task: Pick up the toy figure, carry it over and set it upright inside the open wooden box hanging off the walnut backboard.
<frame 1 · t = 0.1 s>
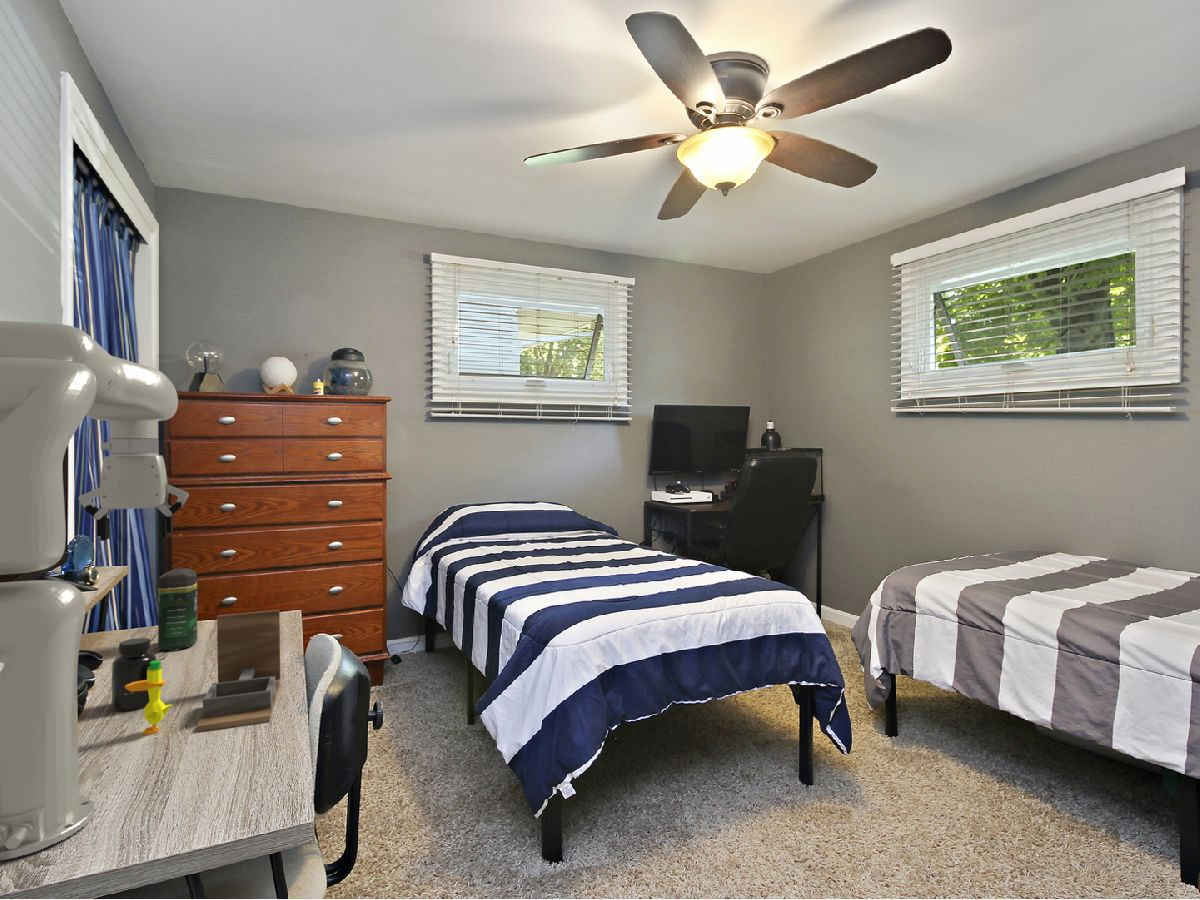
hand: (135, 538, 123), 31 cm above the table, tool pointing down, fingers open, 9 cm apart
coffee jar: (178, 646, 157), on the table
toy figure: (150, 733, 110), on the table
supplement bottle: (134, 705, 122), on the table
open wooden box: (242, 704, 121), on the table
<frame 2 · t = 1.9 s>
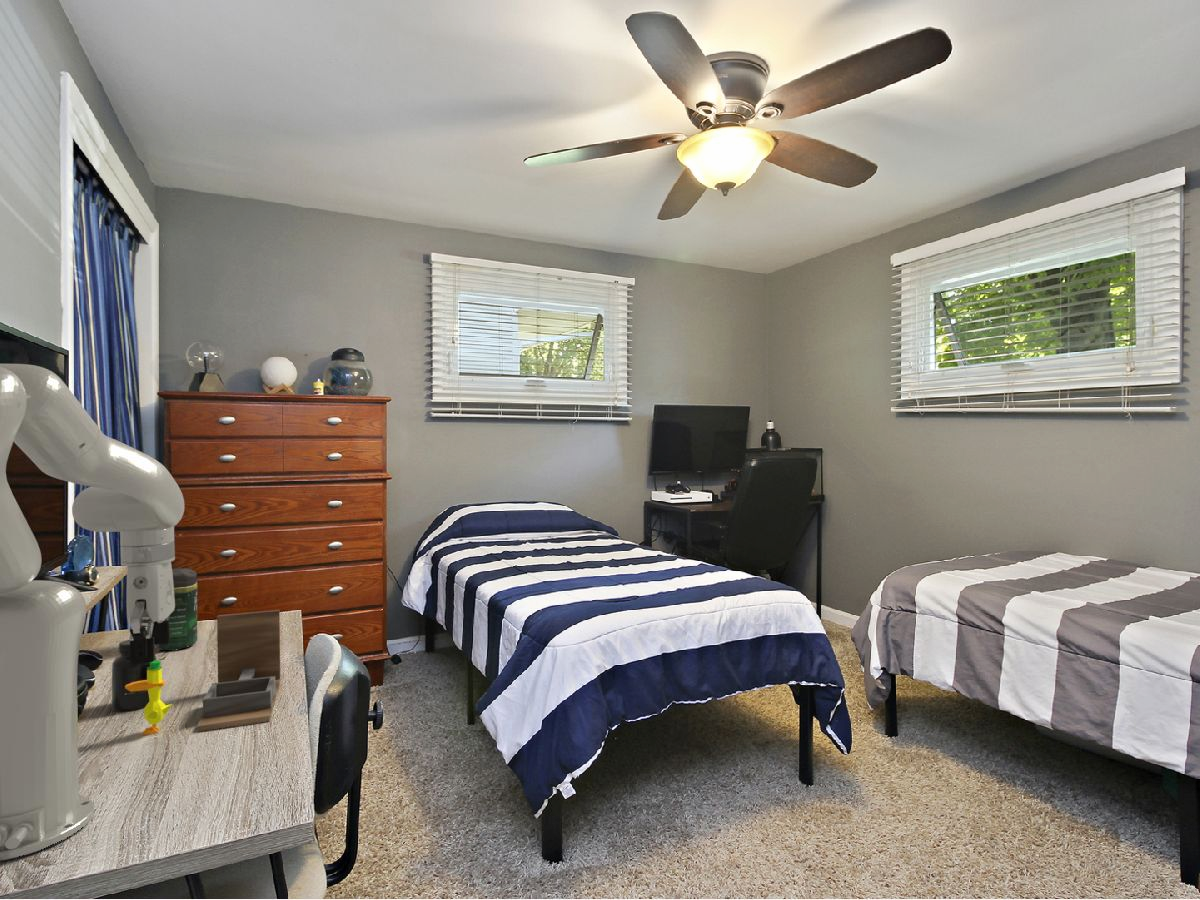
hand: (151, 652, 110), 13 cm above the table, tool pointing down, fingers open, 9 cm apart
nothing on the table moved.
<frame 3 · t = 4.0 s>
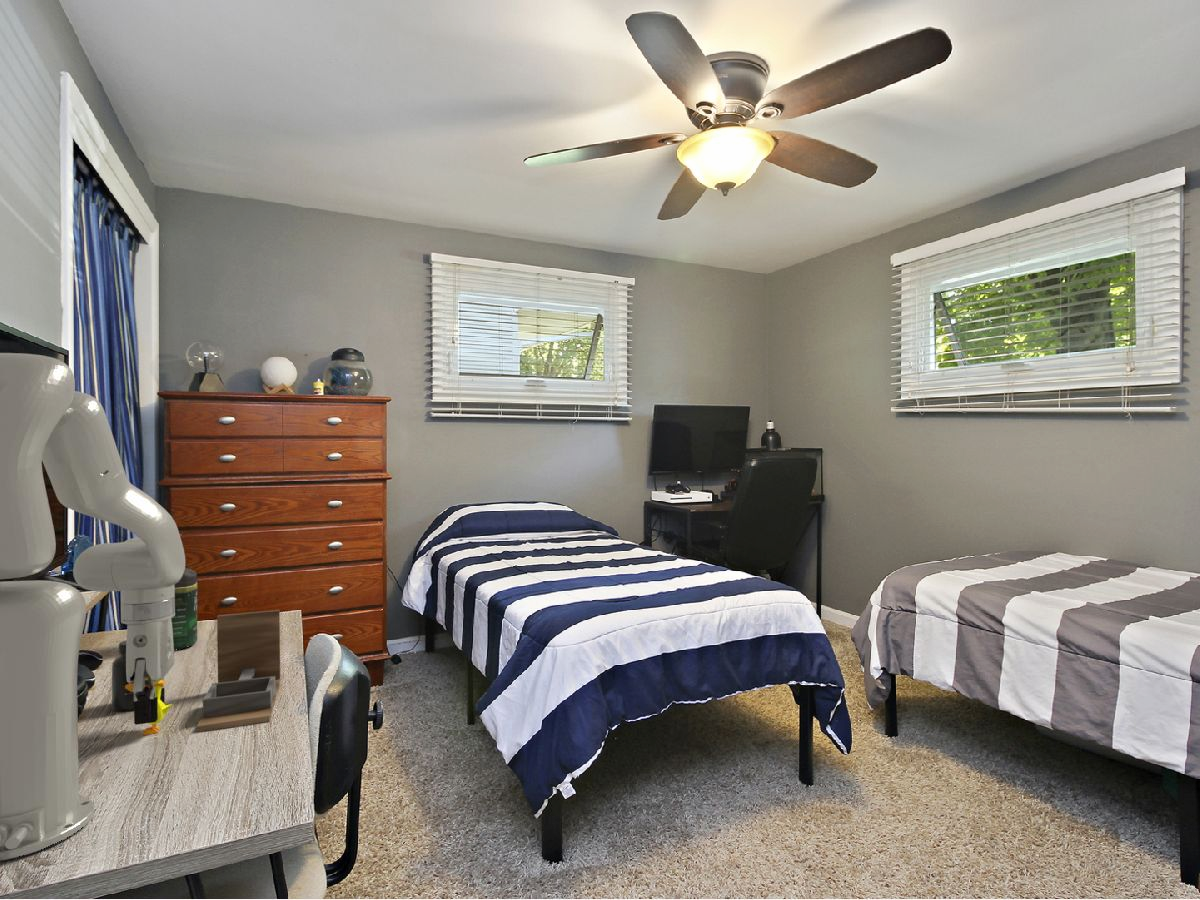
hand: (149, 716, 110), 3 cm above the table, tool pointing down, fingers closed on toy figure, 3 cm apart
toy figure: (150, 733, 110), on the table, touching gripper
everything else where it was.
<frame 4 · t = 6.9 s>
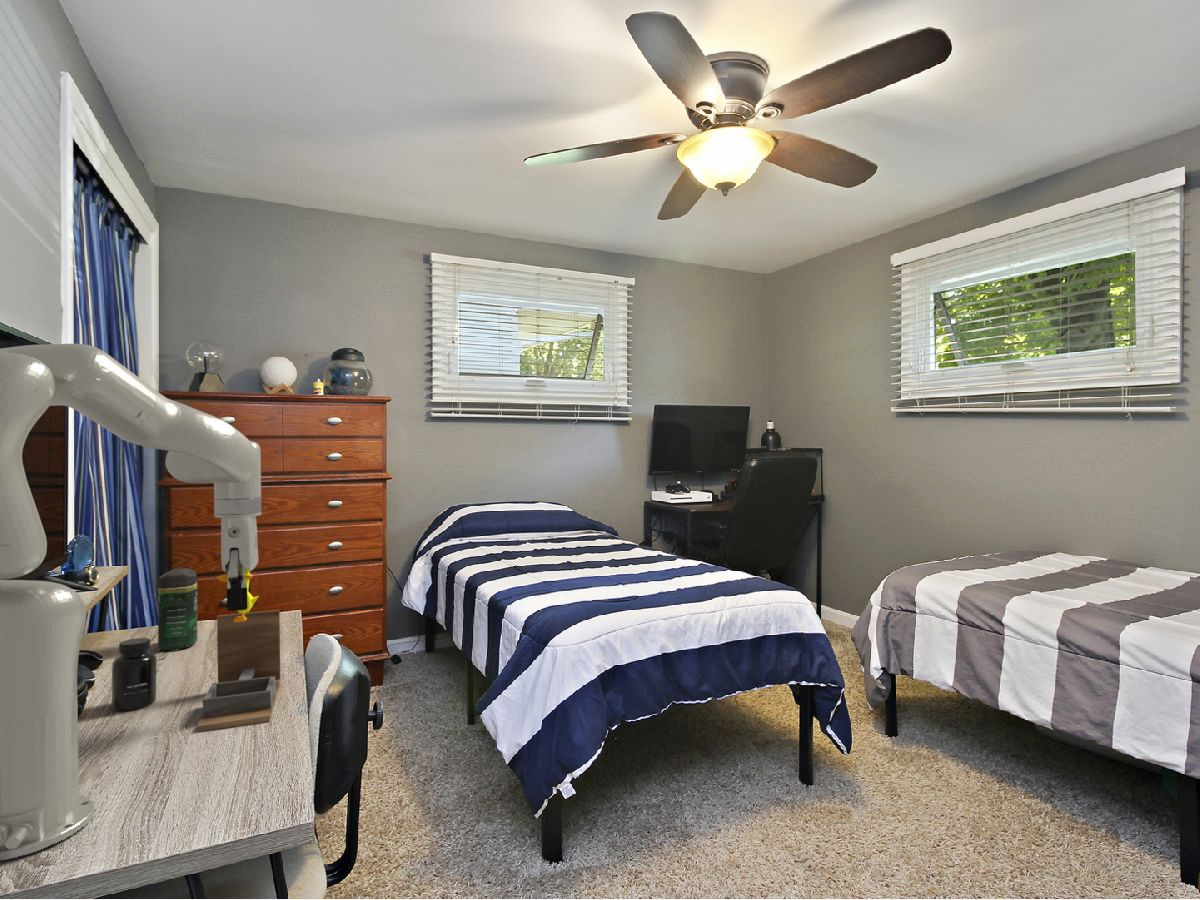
hand: (239, 606, 119), 19 cm above the table, tool pointing down, fingers closed on toy figure, 3 cm apart
toy figure: (239, 621, 119), point 16 cm above the table, touching gripper
everything else where it was.
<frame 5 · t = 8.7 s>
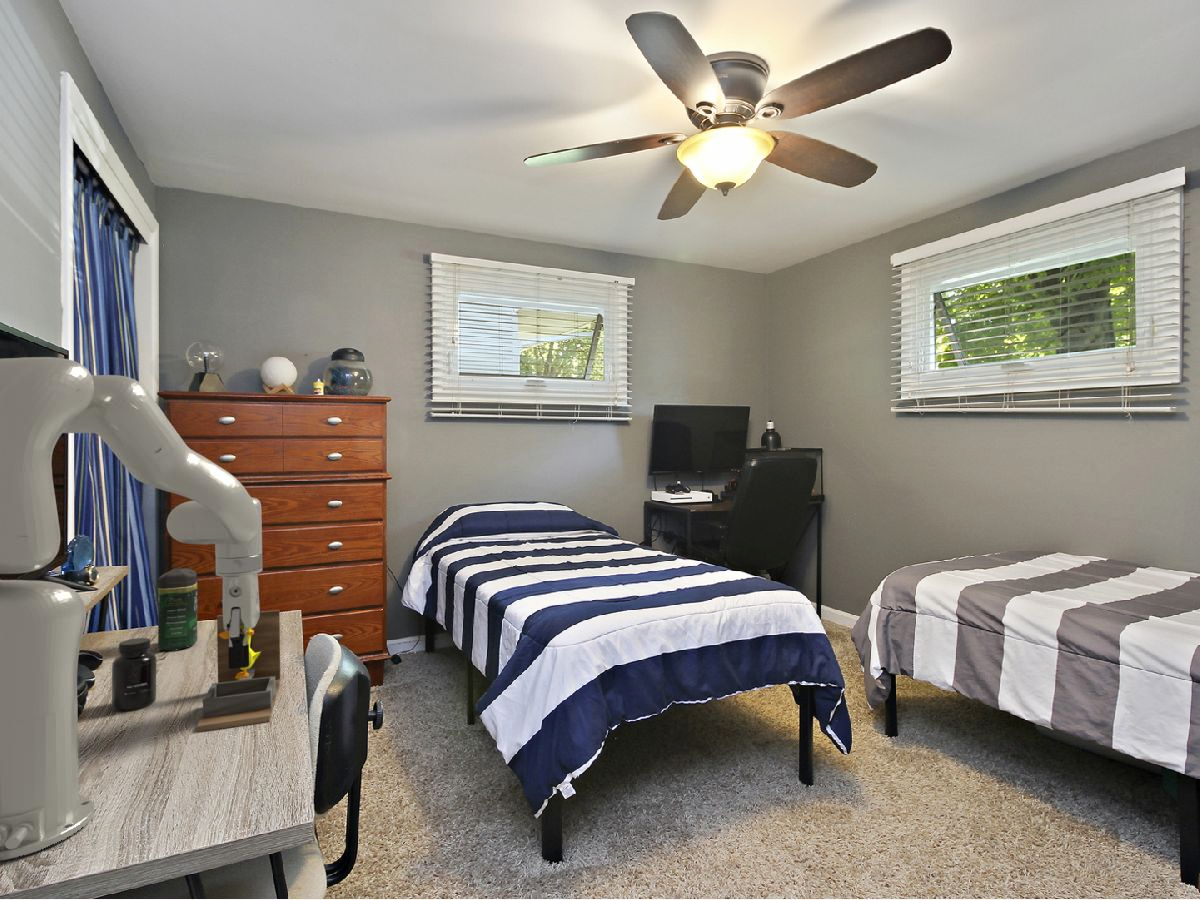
hand: (241, 662, 119), 9 cm above the table, tool pointing down, fingers closed on toy figure, 3 cm apart
toy figure: (241, 678, 119), point 6 cm above the table, touching gripper
everything else where it was.
when the fingers open (5 cm above the table, at t = 10.1 s): toy figure drops 1 cm, resting on open wooden box.
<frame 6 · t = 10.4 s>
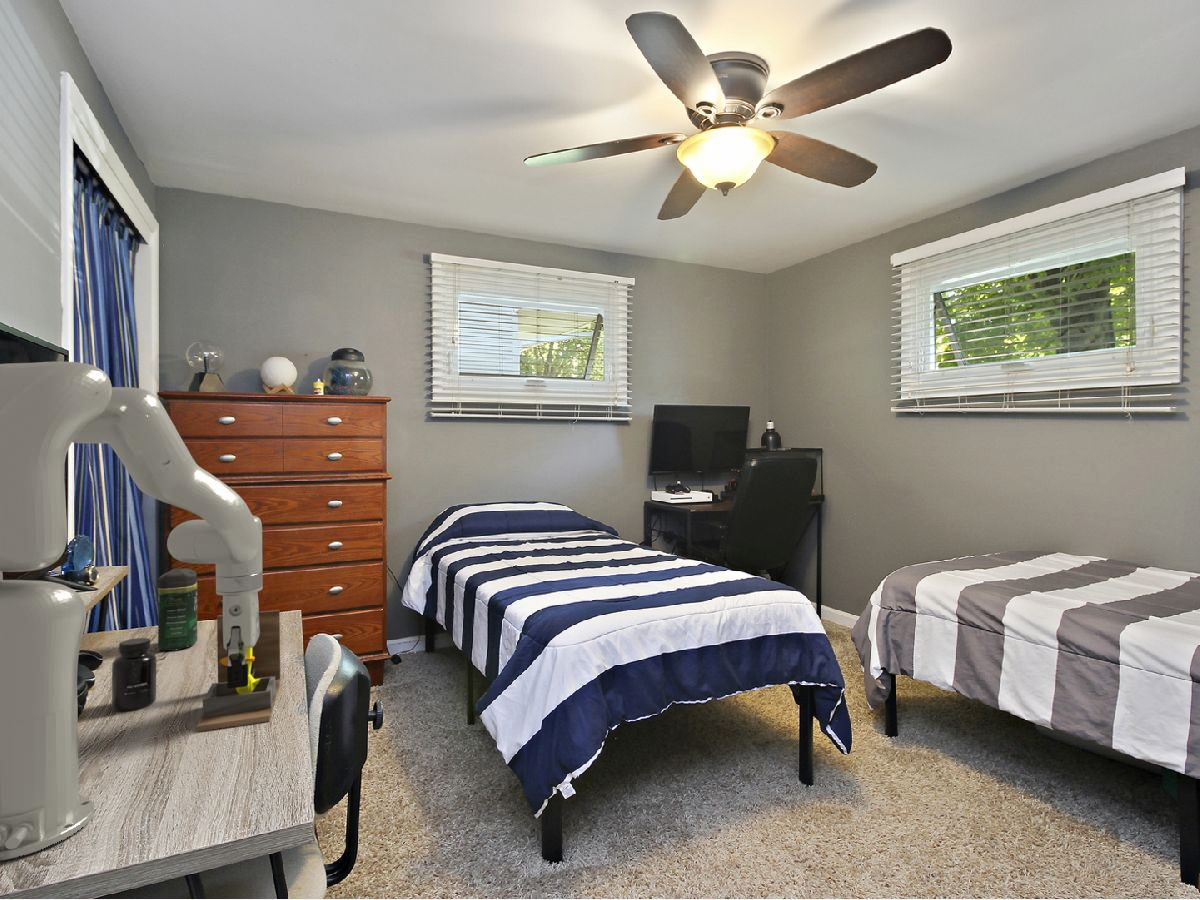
hand: (240, 679, 119), 5 cm above the table, tool pointing down, fingers open, 6 cm apart
toy figure: (240, 704, 119), point 1 cm above the table, touching open wooden box
everything else where it was.
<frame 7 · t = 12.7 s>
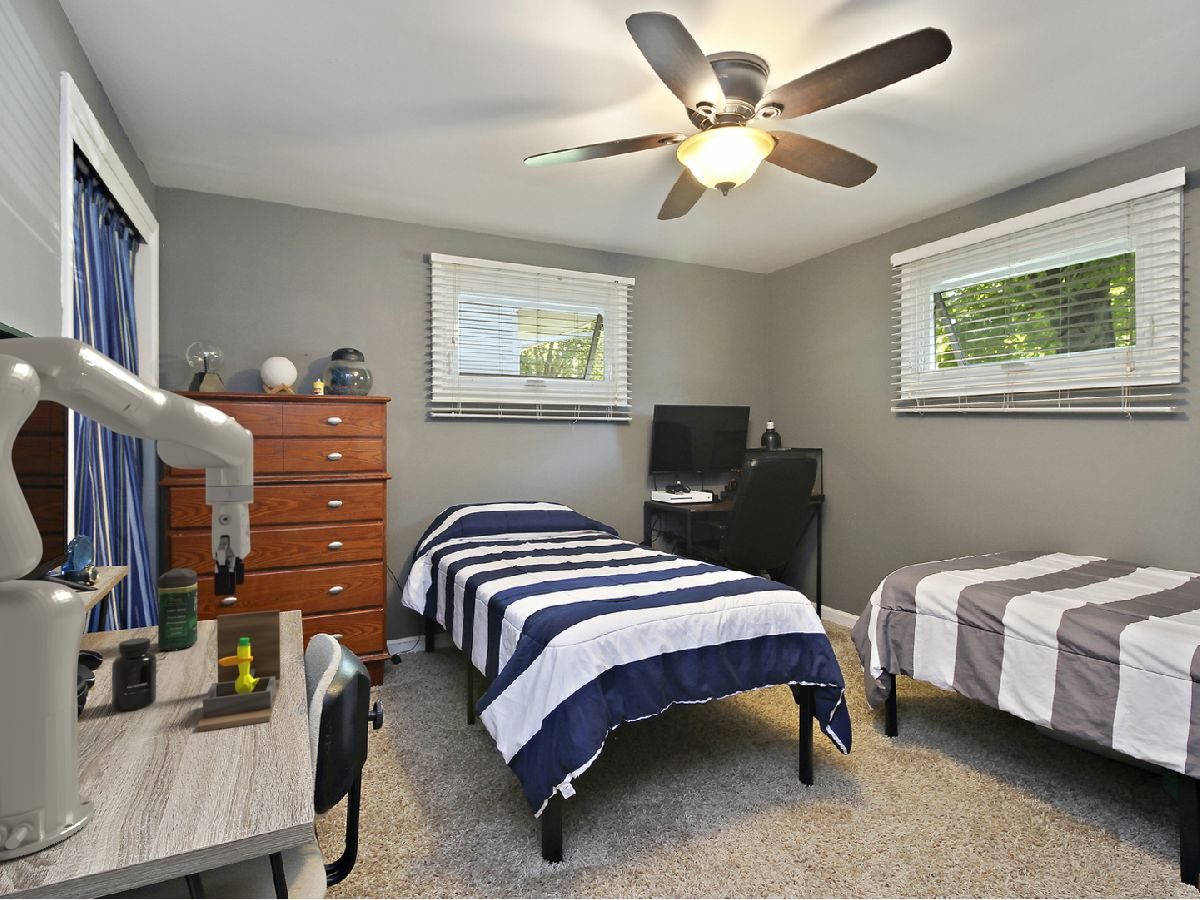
hand: (230, 589, 117), 22 cm above the table, tool pointing down, fingers open, 9 cm apart
nothing on the table moved.
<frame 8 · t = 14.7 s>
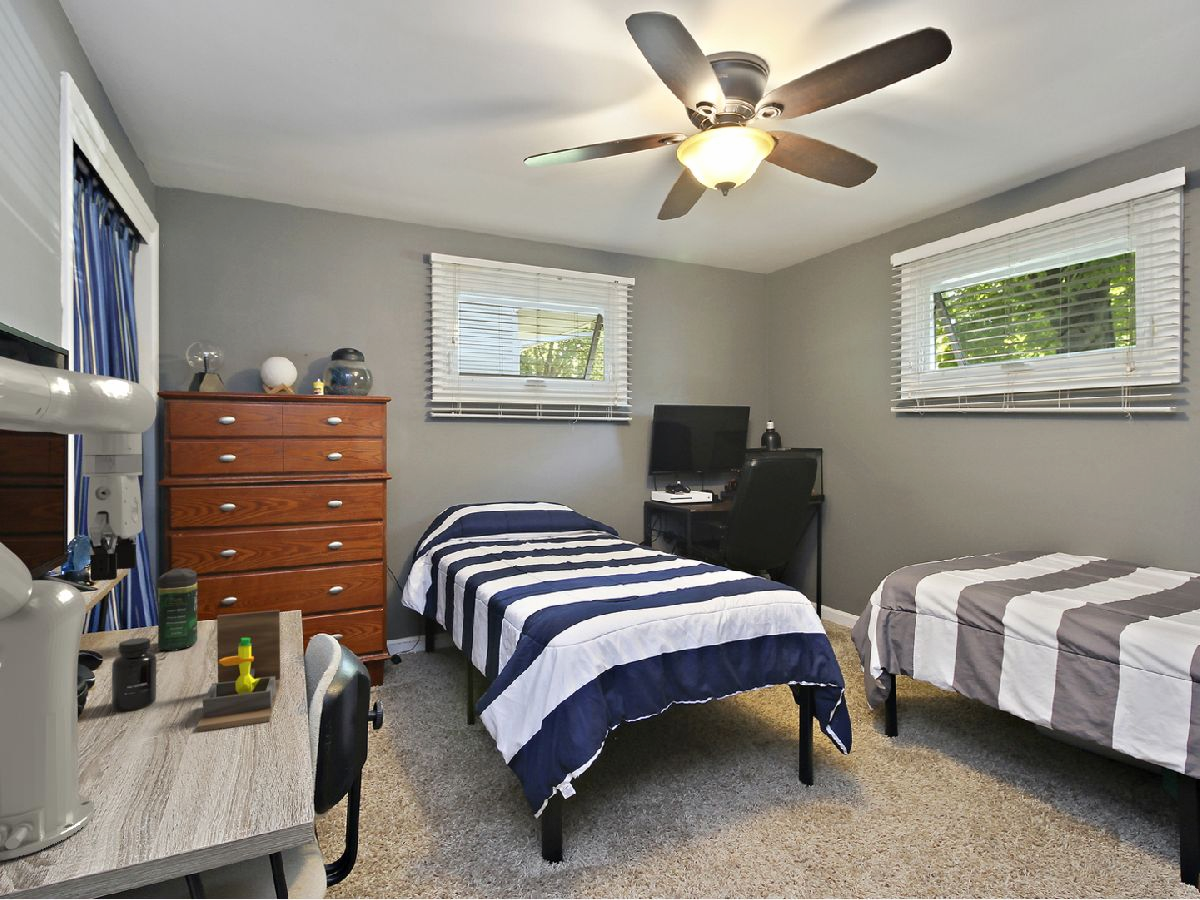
hand: (114, 574, 103), 28 cm above the table, tool pointing down, fingers open, 9 cm apart
nothing on the table moved.
at the end: toy figure inside the target area on the open wooden box (0.2 cm from its centre), point 0.8 cm above the open wooden box's base; toy figure tilted 1°; the gripper is holding nothing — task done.
